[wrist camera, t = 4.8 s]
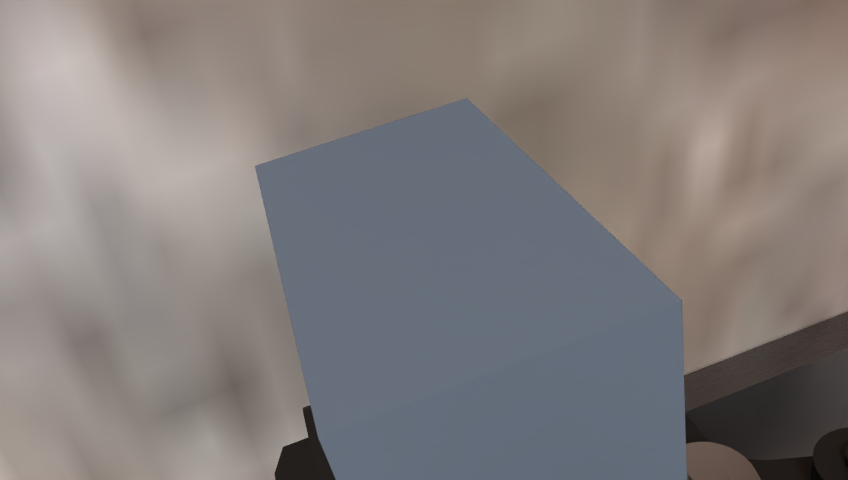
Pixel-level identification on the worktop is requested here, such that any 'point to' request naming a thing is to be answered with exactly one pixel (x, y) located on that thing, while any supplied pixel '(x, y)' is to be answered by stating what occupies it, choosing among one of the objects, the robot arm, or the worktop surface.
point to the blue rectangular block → (470, 312)
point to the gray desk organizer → (775, 394)
